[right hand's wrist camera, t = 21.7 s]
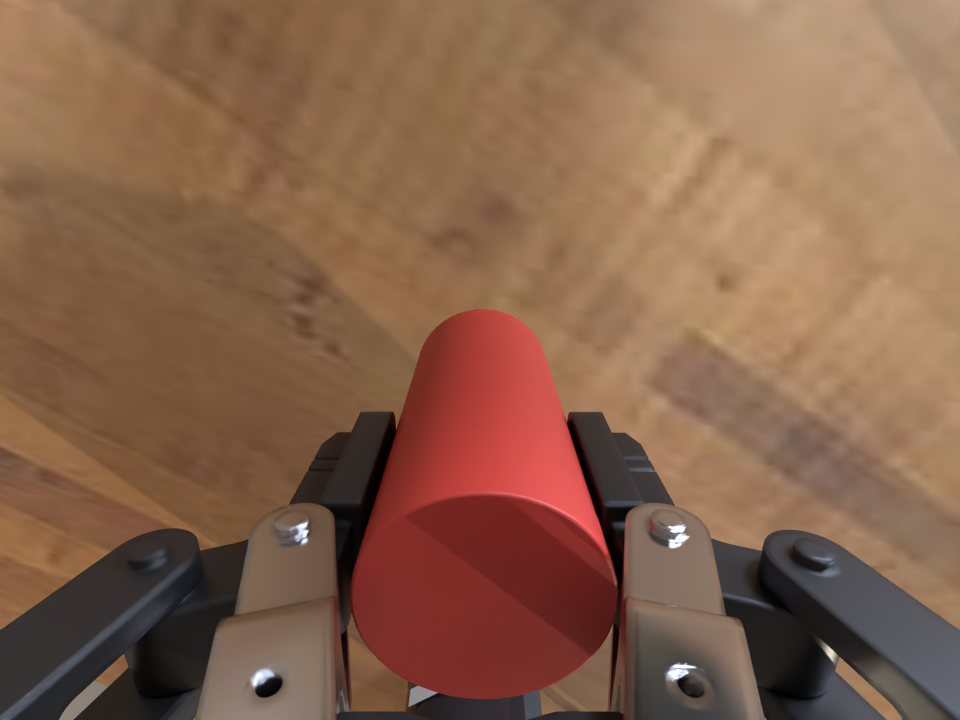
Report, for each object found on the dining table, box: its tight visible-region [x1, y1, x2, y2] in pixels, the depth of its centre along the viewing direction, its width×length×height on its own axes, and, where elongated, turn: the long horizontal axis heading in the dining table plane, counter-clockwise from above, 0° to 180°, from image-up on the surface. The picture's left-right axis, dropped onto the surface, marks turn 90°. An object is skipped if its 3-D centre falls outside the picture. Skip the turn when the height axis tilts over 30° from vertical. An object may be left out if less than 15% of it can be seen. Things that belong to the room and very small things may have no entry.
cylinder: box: [350, 310, 618, 699], centre depth 12 cm, size 4×4×9 cm
